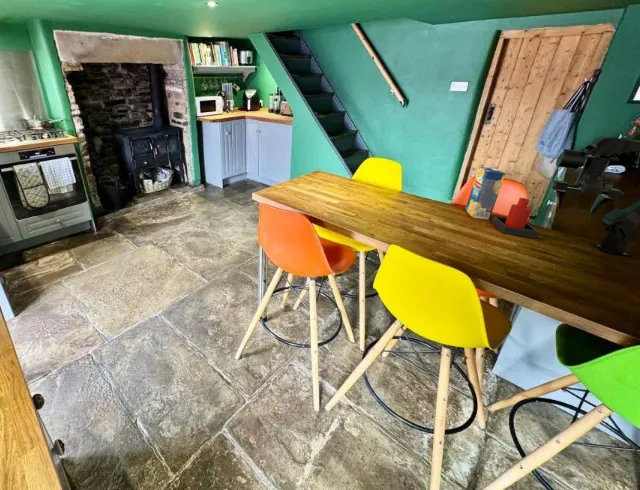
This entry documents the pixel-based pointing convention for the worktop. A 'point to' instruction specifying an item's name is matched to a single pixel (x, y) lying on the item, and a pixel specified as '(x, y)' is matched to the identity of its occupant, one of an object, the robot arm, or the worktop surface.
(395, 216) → the worktop surface
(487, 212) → the cracker box
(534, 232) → the tray
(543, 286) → the worktop surface
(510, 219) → the ketchup bottle
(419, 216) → the worktop surface
